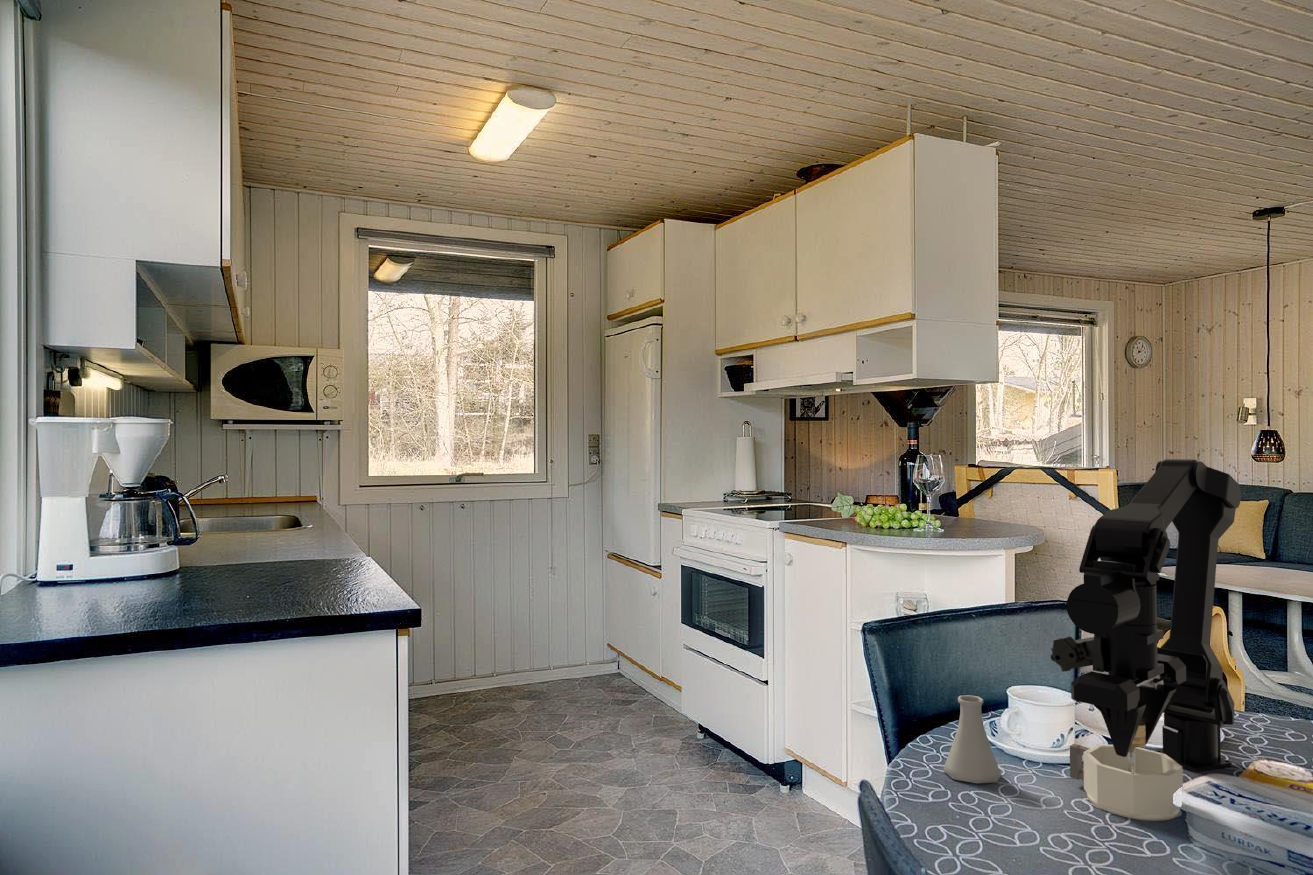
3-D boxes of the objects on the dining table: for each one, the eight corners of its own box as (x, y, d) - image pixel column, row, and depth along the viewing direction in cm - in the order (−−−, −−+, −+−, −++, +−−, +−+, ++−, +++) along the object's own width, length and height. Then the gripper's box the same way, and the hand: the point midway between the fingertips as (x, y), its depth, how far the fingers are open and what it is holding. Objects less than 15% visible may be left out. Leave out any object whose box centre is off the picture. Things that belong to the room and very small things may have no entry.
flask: (1006, 787, 105) (1005, 708, 105) (946, 783, 107) (945, 705, 107) (995, 765, 112) (994, 691, 113) (939, 761, 114) (938, 689, 114)
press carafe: (1089, 773, 109) (1089, 734, 109) (1193, 803, 100) (1192, 760, 100) (1054, 794, 103) (1053, 752, 103) (1161, 828, 94) (1160, 782, 94)
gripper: (1094, 601, 113) (1096, 716, 113) (1026, 621, 101) (1028, 750, 101) (1186, 613, 104) (1188, 738, 104) (1124, 637, 92) (1126, 778, 92)
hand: (1131, 749), depth 101 cm, fingers open, 5 cm apart
